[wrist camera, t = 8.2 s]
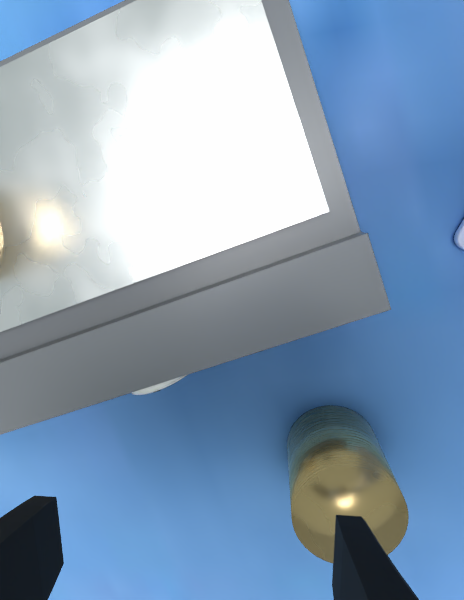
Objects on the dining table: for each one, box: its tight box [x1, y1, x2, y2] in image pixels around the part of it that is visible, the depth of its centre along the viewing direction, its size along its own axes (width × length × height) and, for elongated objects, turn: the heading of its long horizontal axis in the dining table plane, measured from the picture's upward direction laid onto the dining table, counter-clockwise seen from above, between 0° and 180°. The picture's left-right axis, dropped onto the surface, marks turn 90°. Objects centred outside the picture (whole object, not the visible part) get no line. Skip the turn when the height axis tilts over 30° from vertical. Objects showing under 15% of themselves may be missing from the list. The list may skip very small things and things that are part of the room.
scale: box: [0, 0, 391, 434], centre depth 18 cm, size 14×20×4 cm
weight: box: [287, 406, 408, 563], centre depth 18 cm, size 4×4×5 cm
